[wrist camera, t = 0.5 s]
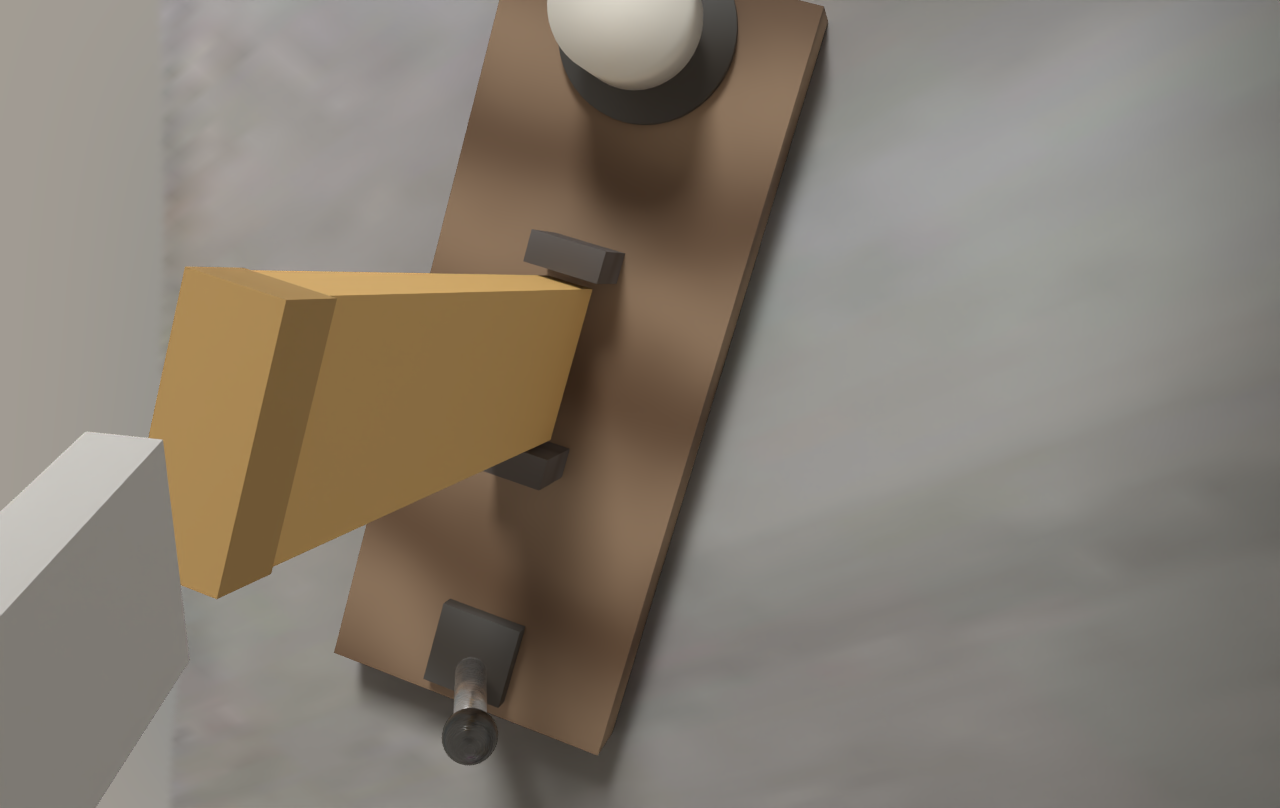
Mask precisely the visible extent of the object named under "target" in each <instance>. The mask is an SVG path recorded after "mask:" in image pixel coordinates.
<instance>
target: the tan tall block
mask: <svg viewBox="0 0 1280 808" xmlns="http://www.w3.org/2000/svg"><path fill="white" fill-rule="evenodd" d="M591 293H592V289H591V288H587V287H584V286H581V285H578V284H575V283H571V282H568V281H565V280H562V279H558V278H555V277H552V276H549V275H496V274H437V273H377V272H318V271H259V270H248V269H245V268H226V267H185V270H184V274H183V279H182V284H181V288H180V293H179V298H178V302H177V307H176V312H175V316H174V321H173V326H172V330H171V335H170V340H169V344H168V349H167V353H166V358H165V363H164V367H163V372H162V377H161V381H160V386H159V391H158V395H157V400H156V405H155V409H154V414H153V419H152V423H151V428H150V433H149V437H148V438H152V439H162V440H163V444H164V452H165V461H166V469H167V477H168V485H169V493H170V502H171V510H172V518H173V526H174V534H175V542H176V551H177V559H178V567H179V575H180V583H181V585H182V586H185V587H187V588H190V589H192V590H195V591H197V592H200V593H202V594H205V595H208V596H210V597H213V598H215V599H218V598H220V597H222V596H225V595H227V594H229V593H231V592H233V591H235V590H237V589H240V588H242V587H244V586H246V585H248V584H250V583H252V582H255V581H257V580H259V579H261V578H263V577H265V576H267V575H270V574H271V572H272V568H273V566H276V565H278V564H280V563H282V562H284V561H286V560H289V559H291V558H293V557H295V556H297V555H300V554H302V553H304V552H306V551H308V550H311V549H313V548H315V547H317V546H319V545H322V544H324V543H326V542H328V541H330V540H333V539H335V538H337V537H339V536H341V535H343V534H346V533H348V532H350V531H352V530H354V529H357V528H359V527H361V526H363V525H365V524H368V523H370V522H372V521H374V520H376V519H379V518H381V517H383V516H385V515H387V514H390V513H392V512H394V511H396V510H398V509H400V508H403V507H405V506H407V505H409V504H411V503H414V502H416V501H418V500H420V499H422V498H425V497H427V496H429V495H431V494H433V493H436V492H438V491H440V490H442V489H444V488H447V487H449V486H451V485H453V484H455V483H457V482H460V481H462V480H464V479H466V478H468V477H471V476H473V475H475V474H477V473H479V472H482V471H484V470H486V469H488V468H490V467H493V466H495V465H497V464H499V463H501V462H504V461H506V460H508V459H510V458H512V457H514V456H517V455H519V454H521V453H523V452H525V451H528V450H530V449H532V448H534V447H536V446H539V445H541V444H543V443H545V442H547V441H550V440H551V436H552V433H553V429H554V425H555V422H556V418H557V415H558V411H559V408H560V404H561V400H562V397H563V393H564V390H565V386H566V383H567V379H568V375H569V372H570V368H571V365H572V361H573V357H574V354H575V350H576V347H577V343H578V340H579V336H580V332H581V329H582V325H583V322H584V318H585V314H586V311H587V307H588V304H589V300H590V297H591Z"/></svg>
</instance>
